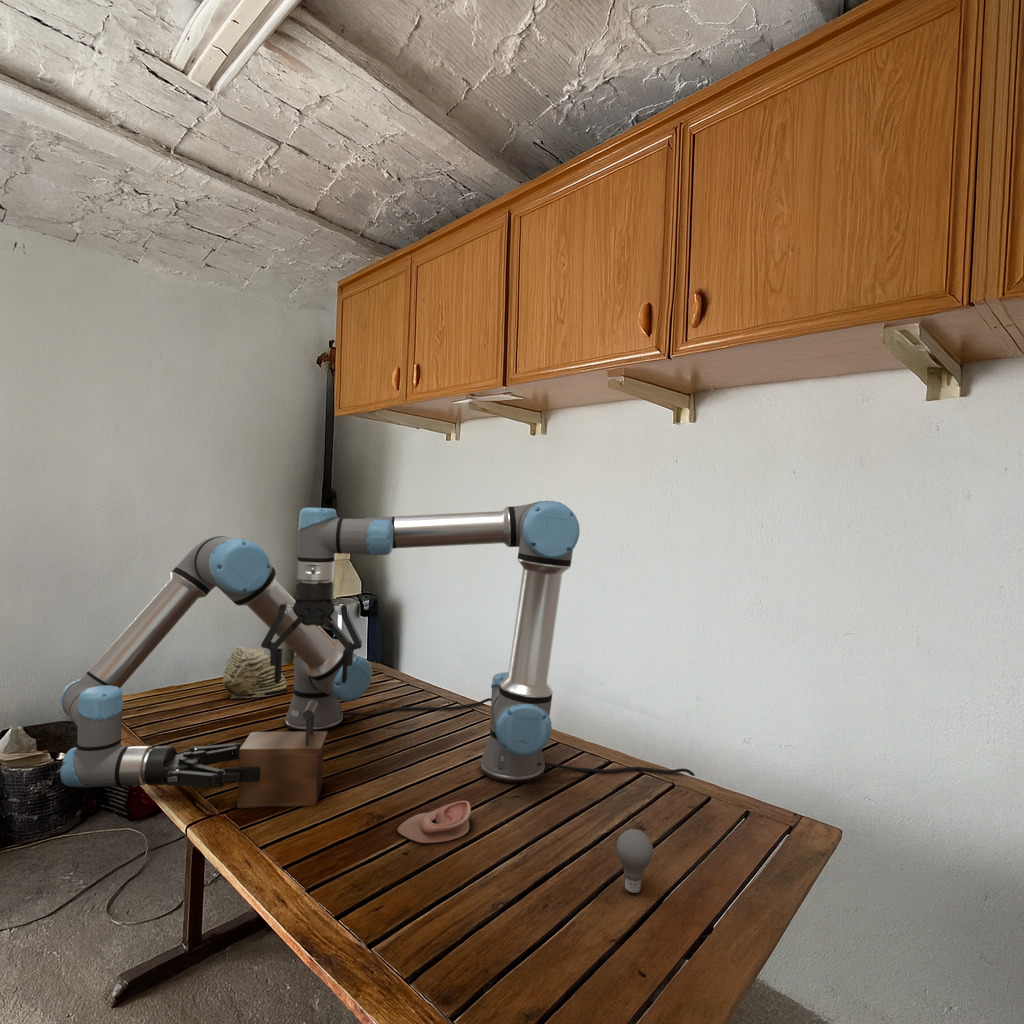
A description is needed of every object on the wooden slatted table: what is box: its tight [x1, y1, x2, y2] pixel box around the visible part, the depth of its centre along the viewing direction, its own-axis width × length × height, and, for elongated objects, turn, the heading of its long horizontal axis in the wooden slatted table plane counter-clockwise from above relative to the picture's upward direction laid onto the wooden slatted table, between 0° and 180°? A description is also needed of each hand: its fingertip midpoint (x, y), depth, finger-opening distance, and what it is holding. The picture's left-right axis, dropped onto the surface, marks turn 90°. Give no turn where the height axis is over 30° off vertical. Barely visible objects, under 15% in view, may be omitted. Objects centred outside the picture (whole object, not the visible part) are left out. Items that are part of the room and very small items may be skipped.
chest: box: [236, 745, 325, 809], centre depth 133 cm, size 15×9×11 cm, turn 99°
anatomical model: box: [396, 800, 472, 844], centre depth 123 cm, size 13×4×12 cm
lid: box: [239, 700, 328, 755], centre depth 133 cm, size 16×9×9 cm, turn 99°
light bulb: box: [615, 828, 654, 894], centre depth 106 cm, size 6×6×10 cm
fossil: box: [222, 646, 288, 699], centre depth 198 cm, size 9×18×15 cm, turn 132°
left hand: (265, 763), depth 133 cm, fingers closed on chest, 9 cm apart
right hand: (311, 681), depth 134 cm, fingers open, 13 cm apart
